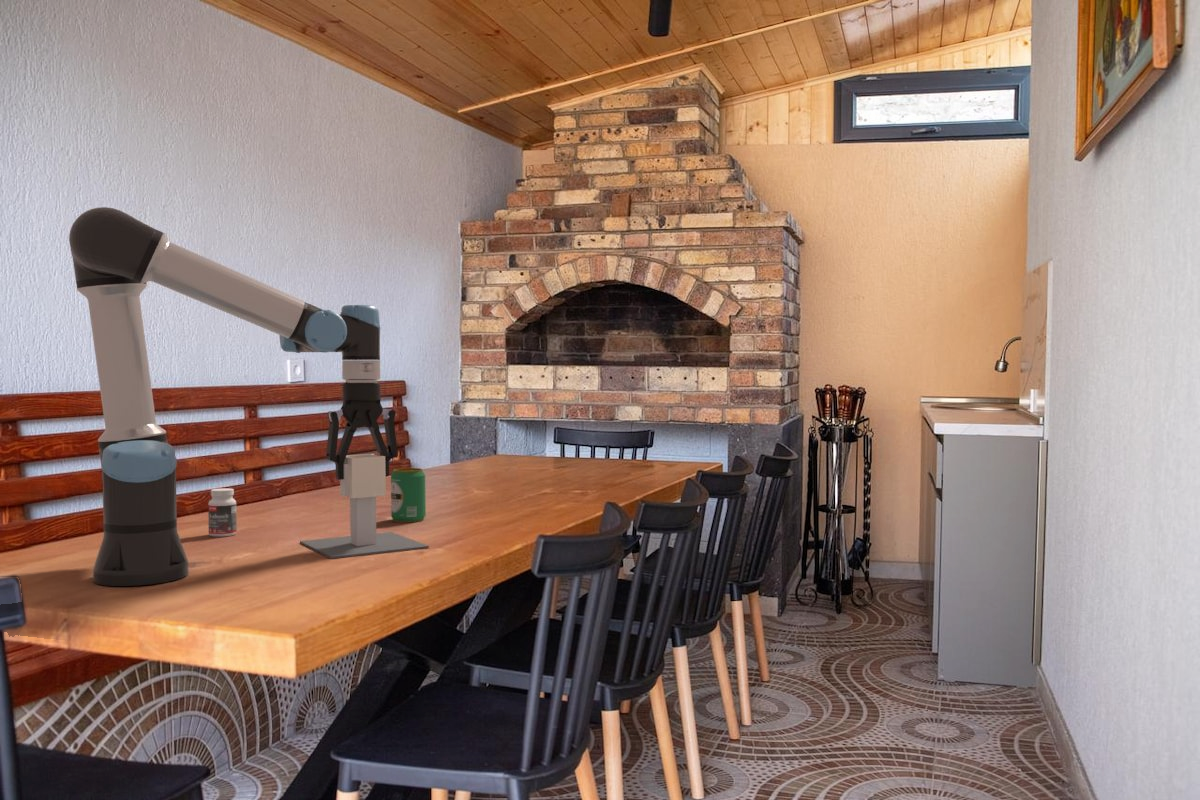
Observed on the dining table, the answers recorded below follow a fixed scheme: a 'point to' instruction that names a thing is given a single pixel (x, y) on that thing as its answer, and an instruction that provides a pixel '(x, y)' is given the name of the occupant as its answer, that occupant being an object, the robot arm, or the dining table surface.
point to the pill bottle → (222, 513)
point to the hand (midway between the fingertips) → (362, 493)
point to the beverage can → (408, 495)
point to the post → (363, 535)
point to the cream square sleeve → (366, 475)
